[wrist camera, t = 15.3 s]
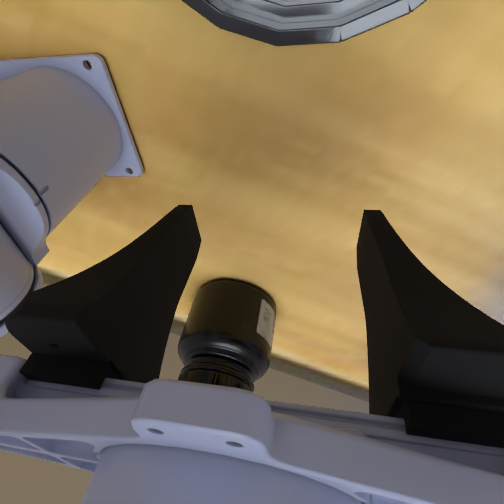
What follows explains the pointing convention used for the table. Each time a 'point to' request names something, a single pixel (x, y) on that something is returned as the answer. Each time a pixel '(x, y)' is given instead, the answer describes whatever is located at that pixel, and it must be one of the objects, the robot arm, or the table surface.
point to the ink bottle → (227, 335)
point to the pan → (301, 18)
